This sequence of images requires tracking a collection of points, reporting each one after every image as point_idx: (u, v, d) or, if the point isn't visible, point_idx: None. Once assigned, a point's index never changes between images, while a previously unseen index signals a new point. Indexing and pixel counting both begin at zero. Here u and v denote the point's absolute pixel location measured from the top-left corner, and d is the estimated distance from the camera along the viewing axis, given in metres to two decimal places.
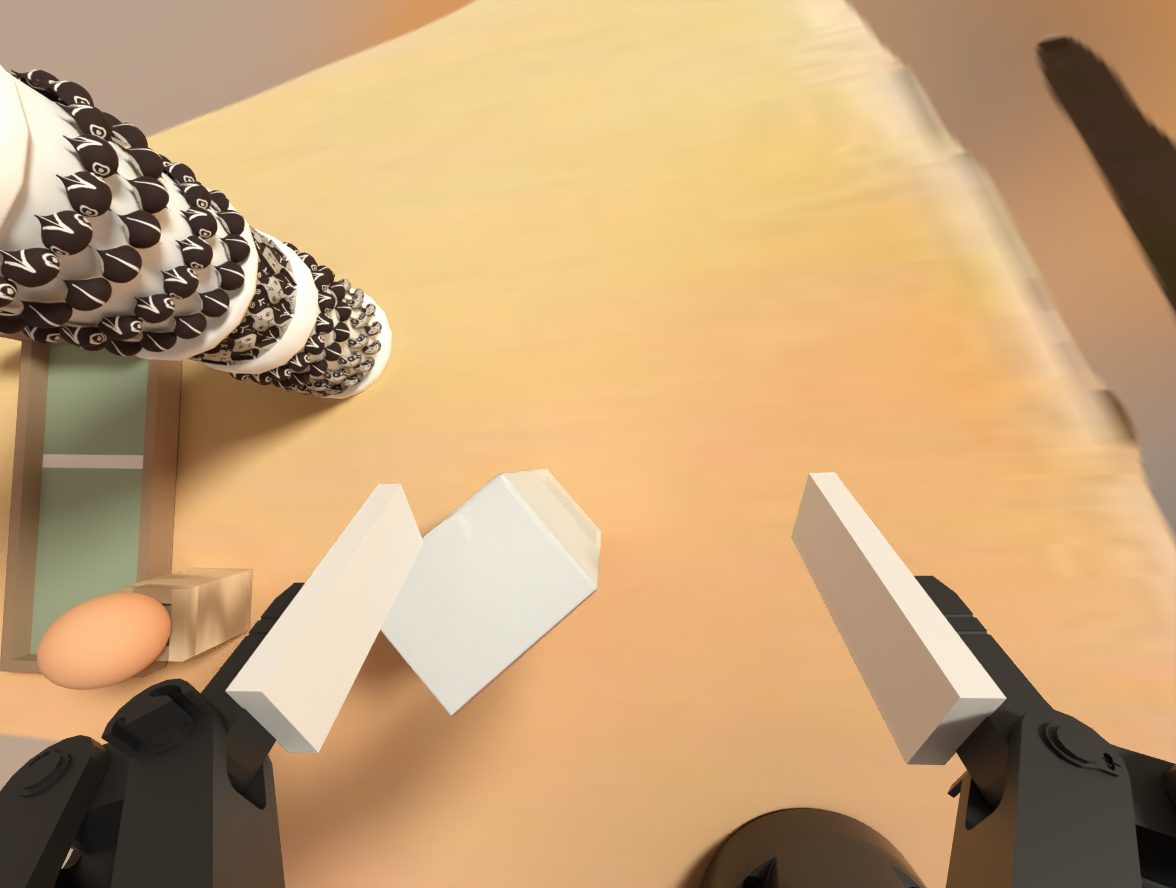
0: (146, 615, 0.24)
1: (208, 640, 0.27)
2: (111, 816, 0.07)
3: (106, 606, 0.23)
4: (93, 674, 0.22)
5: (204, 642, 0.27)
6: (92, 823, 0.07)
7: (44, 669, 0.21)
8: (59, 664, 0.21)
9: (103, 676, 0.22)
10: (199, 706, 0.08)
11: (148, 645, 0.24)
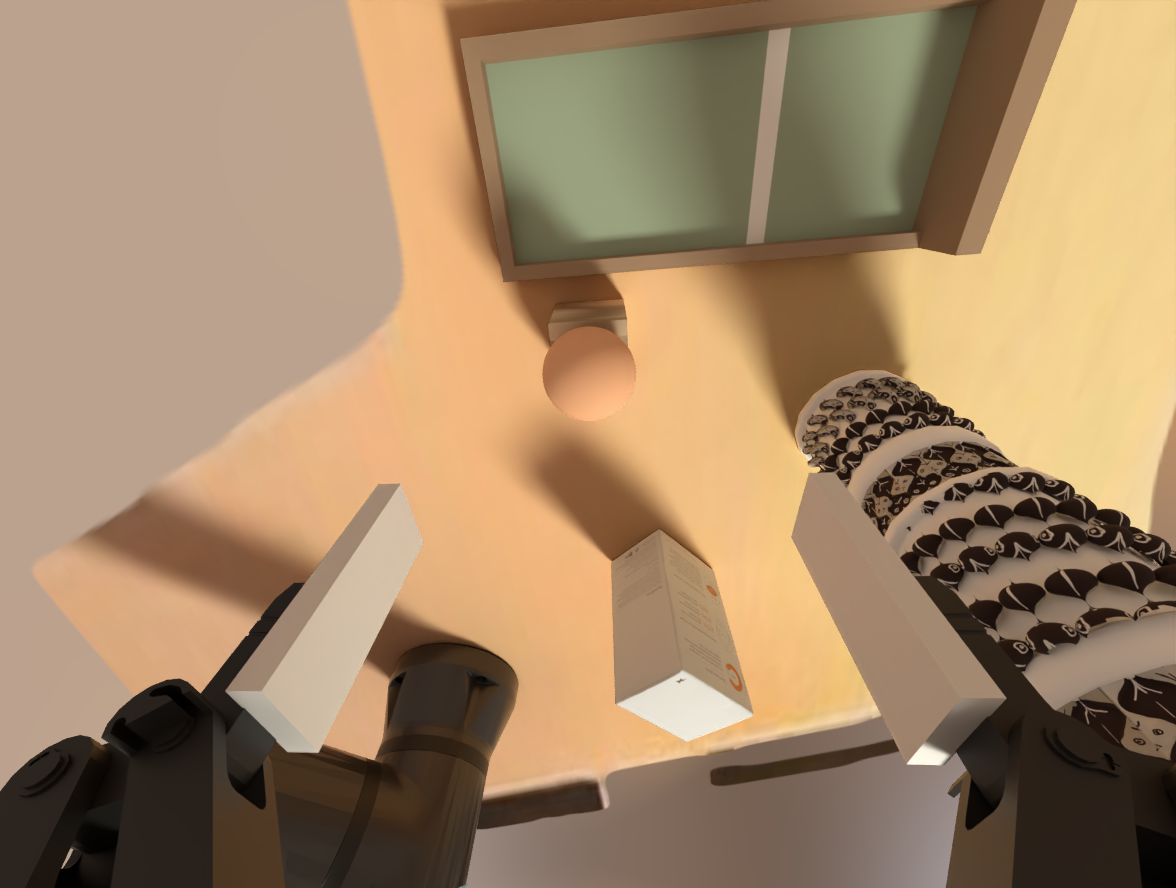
0: None
1: None
2: (111, 816, 0.07)
3: (630, 393, 0.22)
4: (570, 414, 0.22)
5: None
6: (92, 823, 0.07)
7: (575, 385, 0.20)
8: (583, 401, 0.21)
9: (565, 413, 0.22)
10: (199, 706, 0.08)
11: None
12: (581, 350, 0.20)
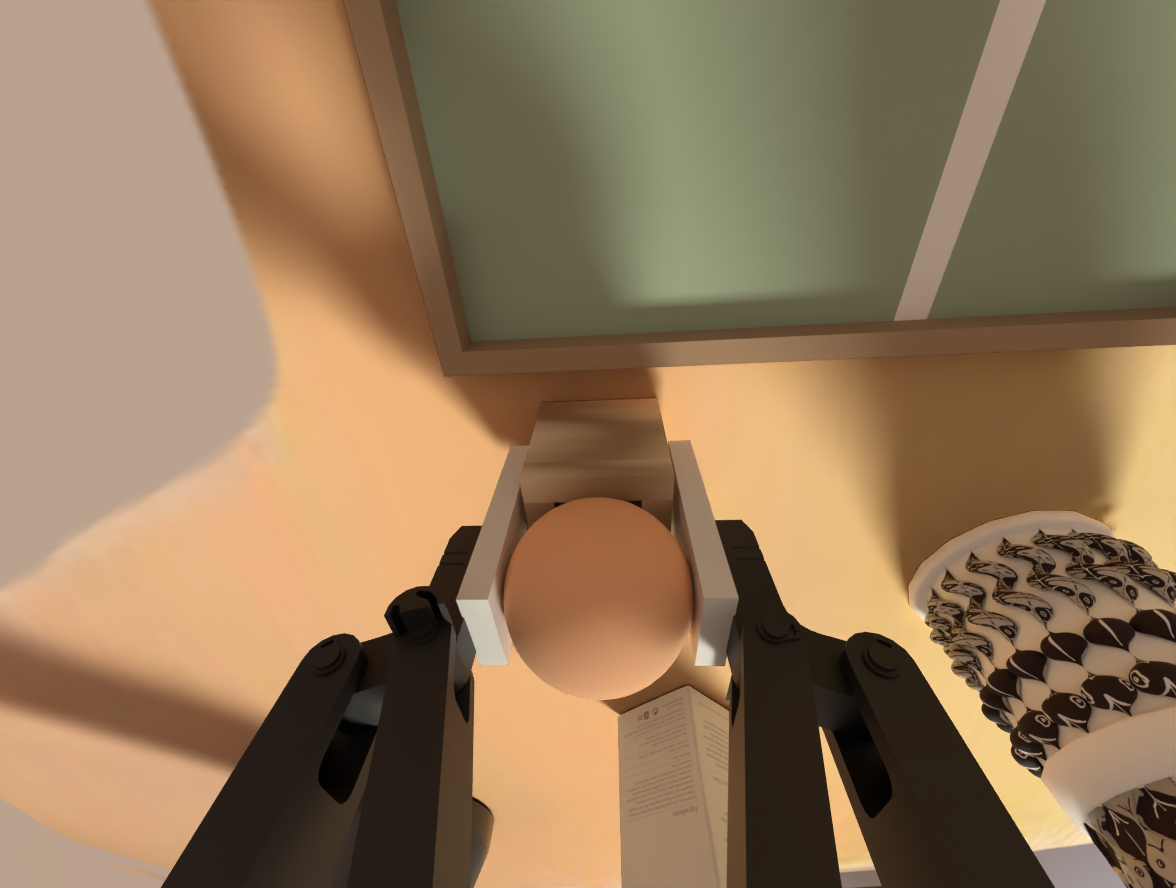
0: None
1: None
2: (379, 697, 0.09)
3: None
4: None
5: None
6: (364, 702, 0.09)
7: (568, 669, 0.09)
8: (585, 693, 0.09)
9: None
10: (444, 617, 0.09)
11: None
12: (584, 594, 0.09)
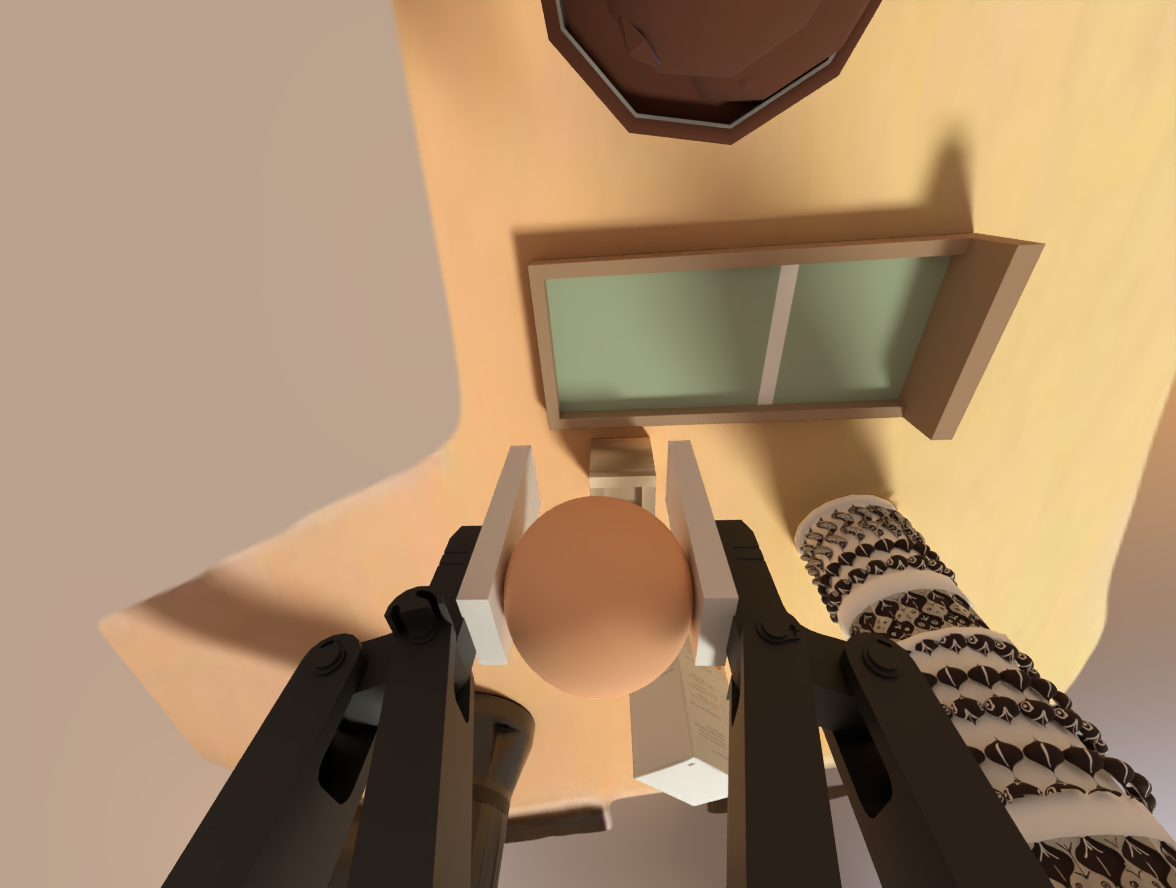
0: None
1: None
2: (379, 697, 0.09)
3: None
4: None
5: None
6: (364, 702, 0.09)
7: (570, 668, 0.09)
8: (587, 692, 0.09)
9: None
10: (444, 617, 0.09)
11: None
12: (585, 593, 0.09)
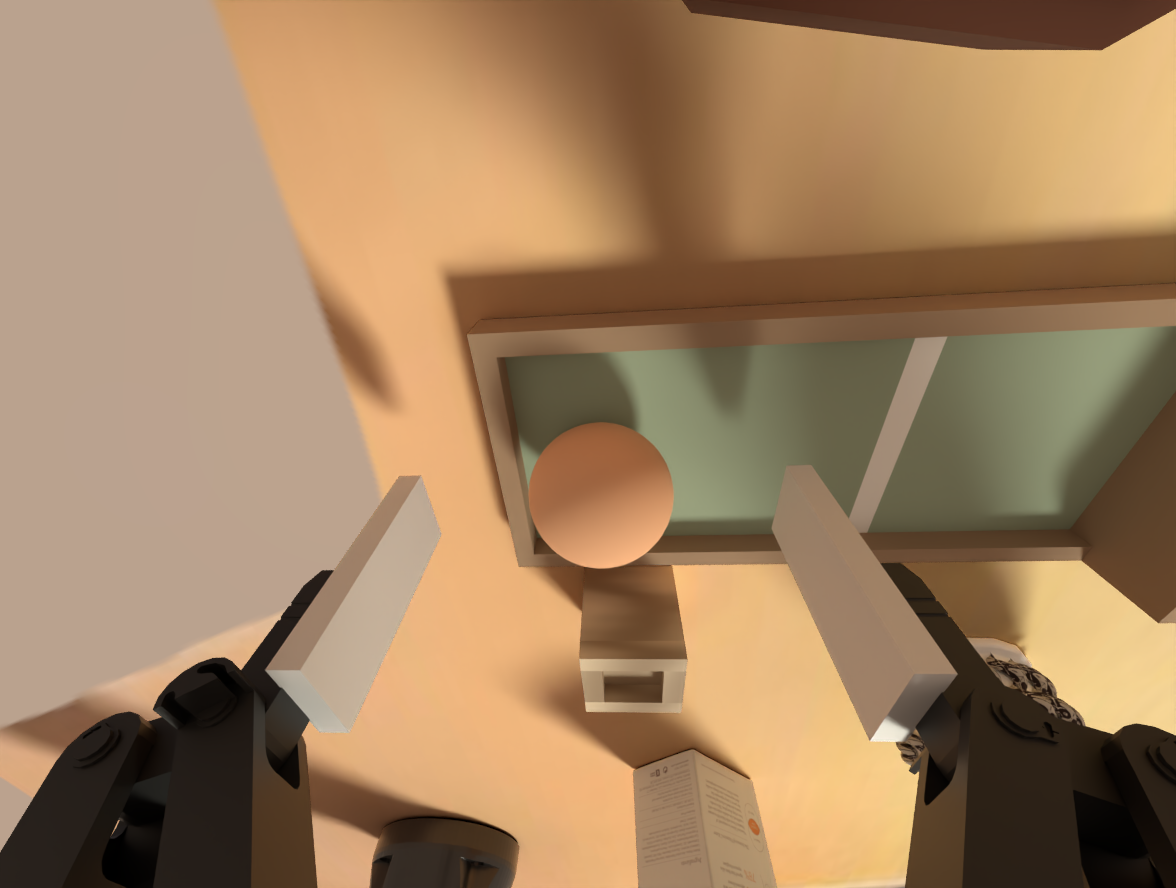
0: None
1: None
2: (159, 788, 0.08)
3: None
4: None
5: None
6: (141, 795, 0.08)
7: (580, 533, 0.12)
8: (593, 555, 0.13)
9: None
10: (241, 685, 0.08)
11: None
12: (591, 477, 0.12)
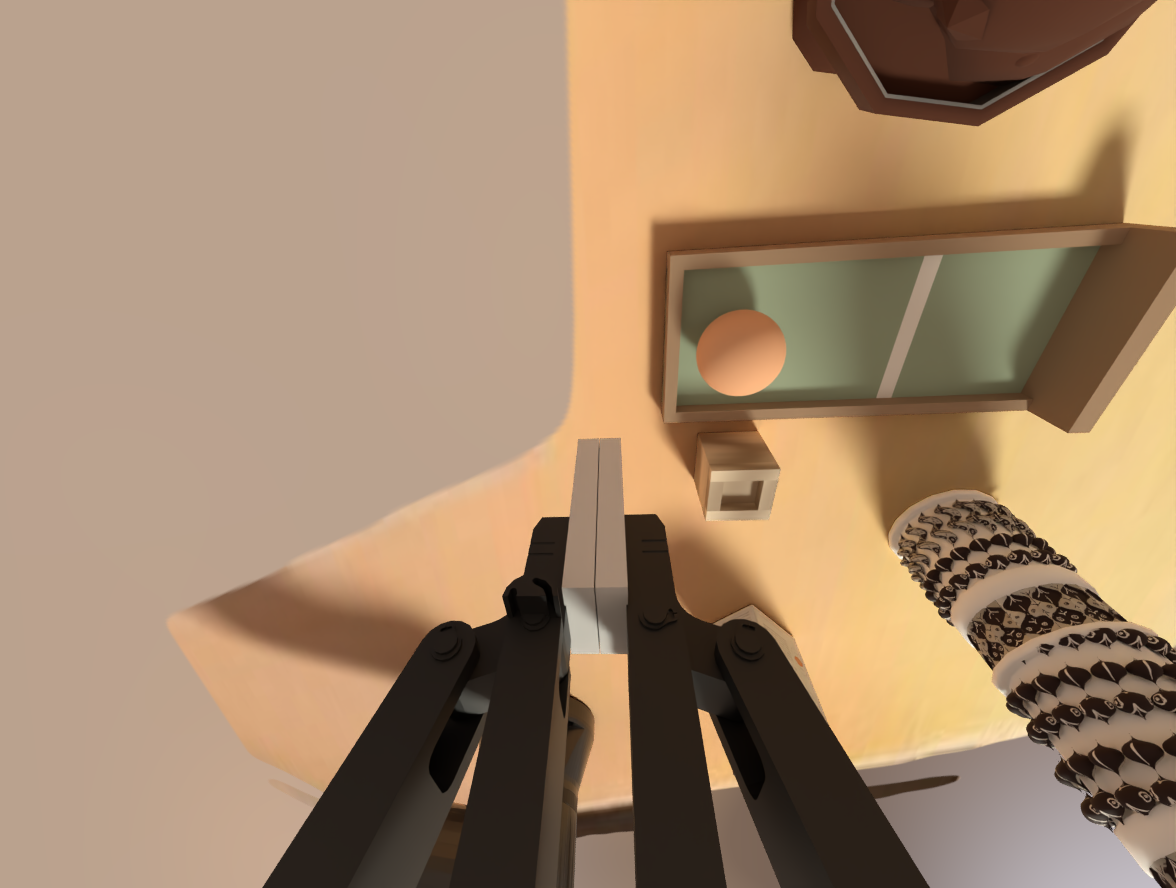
0: None
1: None
2: (493, 683, 0.09)
3: None
4: (727, 389, 0.24)
5: None
6: (480, 688, 0.09)
7: (744, 361, 0.22)
8: (748, 376, 0.23)
9: (721, 389, 0.24)
10: (556, 609, 0.09)
11: None
12: (750, 329, 0.22)
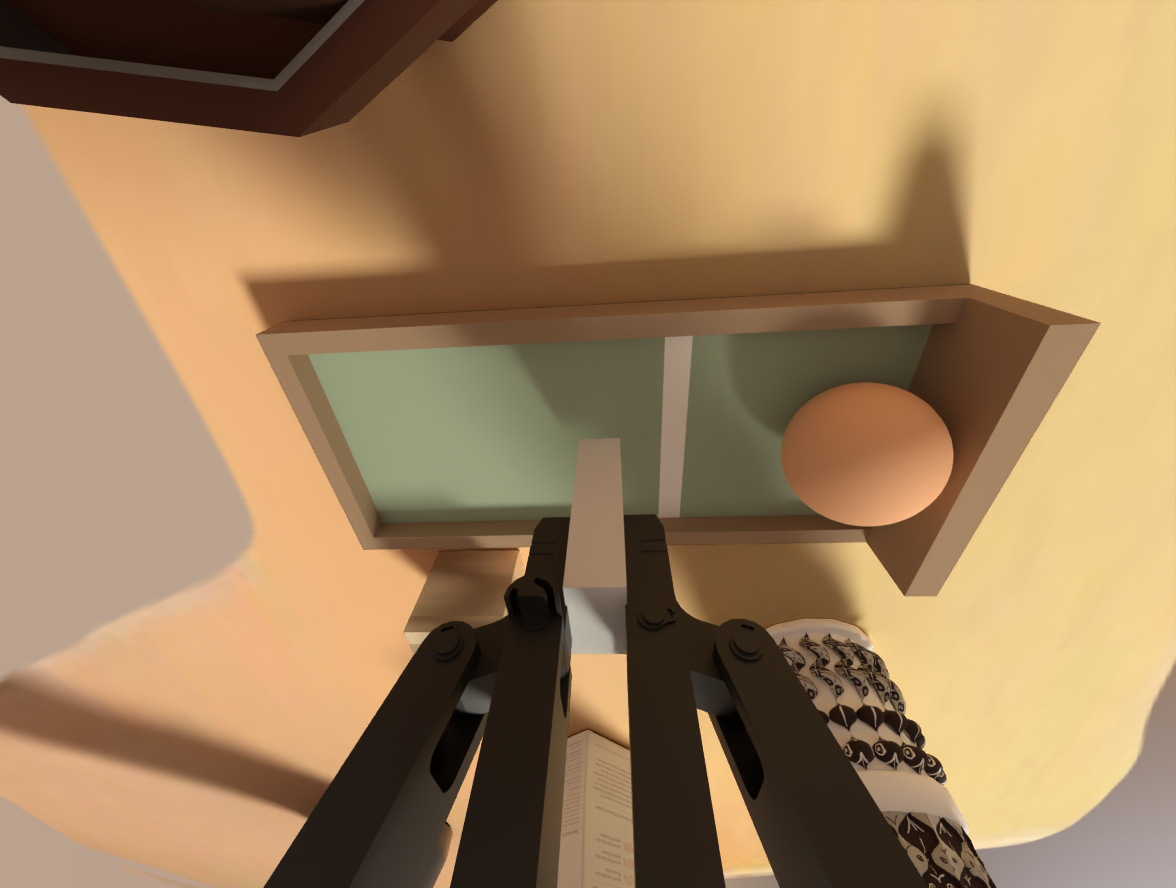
0: None
1: None
2: (494, 683, 0.09)
3: None
4: (827, 513, 0.14)
5: None
6: (481, 688, 0.09)
7: (868, 479, 0.13)
8: (871, 505, 0.13)
9: (815, 508, 0.15)
10: (557, 609, 0.09)
11: None
12: (890, 425, 0.12)
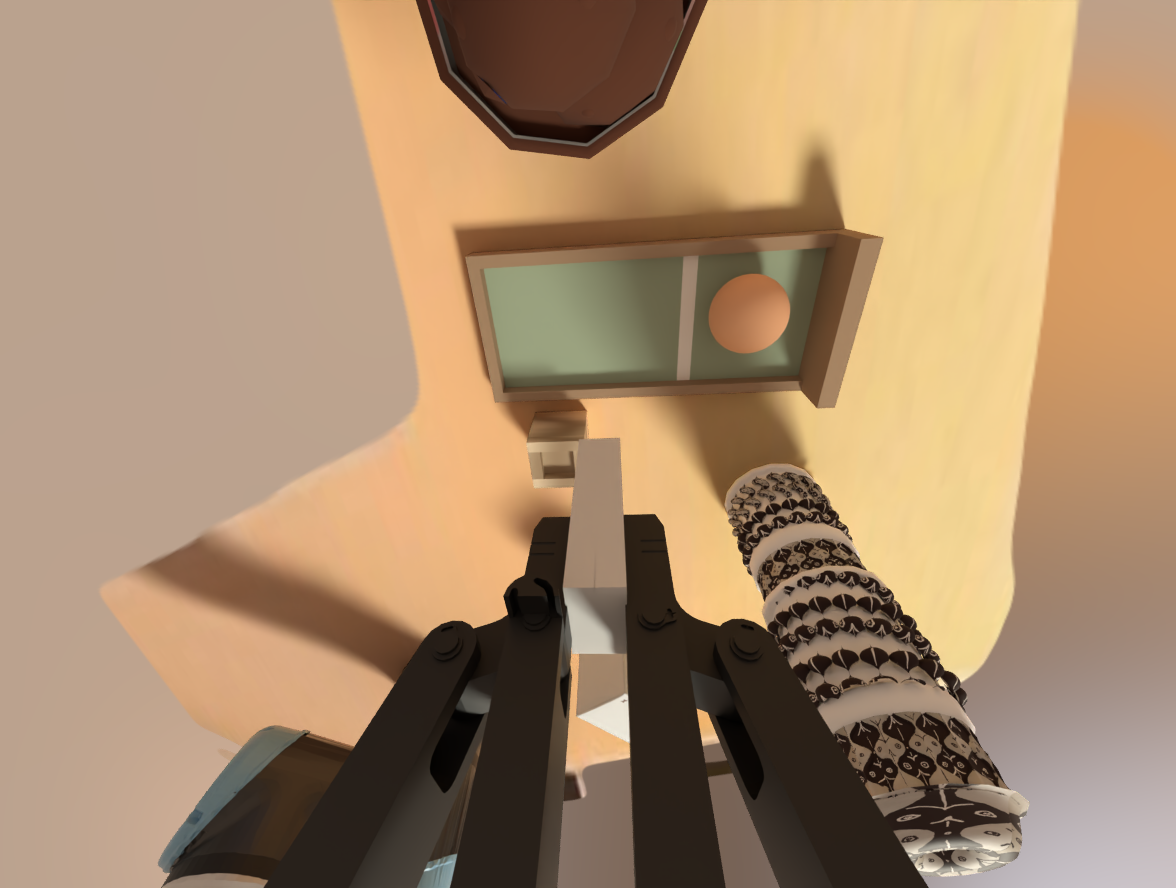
0: (753, 351, 0.27)
1: None
2: (494, 683, 0.09)
3: (753, 334, 0.26)
4: None
5: None
6: (481, 688, 0.09)
7: (713, 303, 0.27)
8: (712, 318, 0.27)
9: None
10: (557, 609, 0.09)
11: None
12: (733, 281, 0.26)
